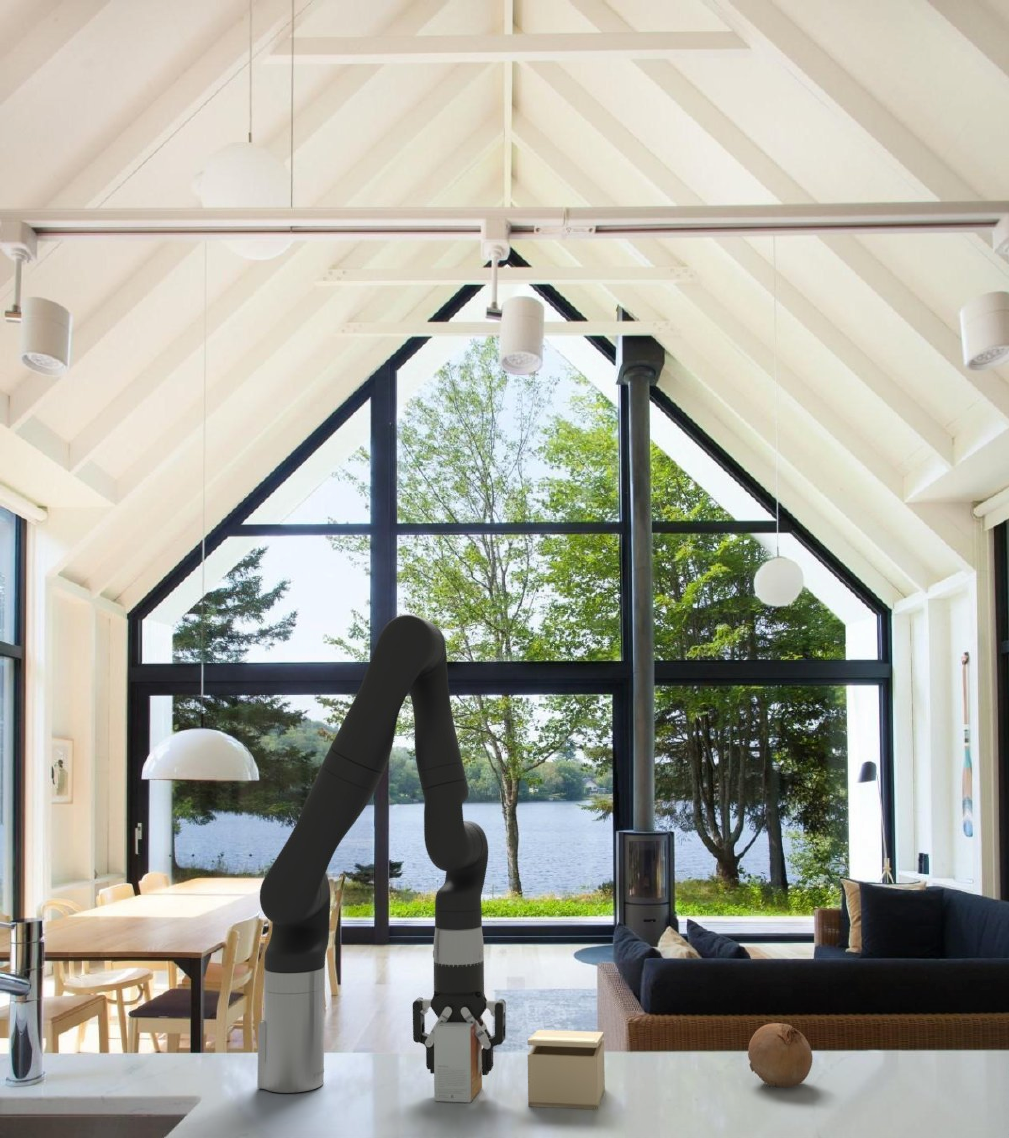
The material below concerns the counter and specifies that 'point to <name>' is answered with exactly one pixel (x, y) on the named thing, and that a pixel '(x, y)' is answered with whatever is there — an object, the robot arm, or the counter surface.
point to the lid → (566, 1038)
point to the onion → (780, 1055)
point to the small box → (456, 1062)
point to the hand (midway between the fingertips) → (459, 1073)
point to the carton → (566, 1076)
